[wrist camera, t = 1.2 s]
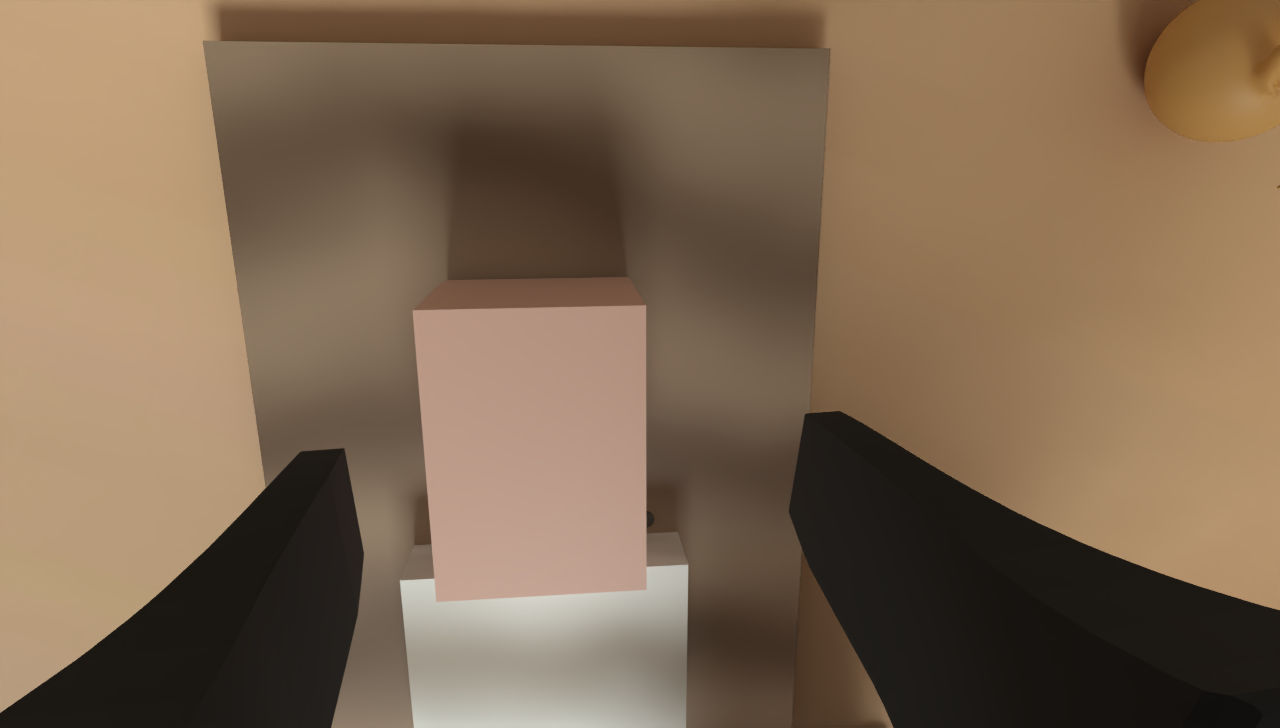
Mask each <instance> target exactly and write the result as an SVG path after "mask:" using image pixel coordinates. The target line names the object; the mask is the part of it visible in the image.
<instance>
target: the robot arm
mask: <svg viewBox="0 0 1280 728" xmlns="http://www.w3.org/2000/svg"><path fill="white" fill-rule="evenodd" d="M789 514H790V517H791V520H792V523H793V525H794V528H795V531H796V534H797V537H798V539H799V542H800V545H801V547H802V550H803V552H804V555H805V557H806V560H807V562H808V565H809V567H810V568H811V570H812V572H813V574H814V576H815V578H816V580H817V582H818V584H819V585H820V587H821V589H822V591H823V593H824V595H825V597H826V598H827V600H828V602H829V604H830V606H831V608H832V610H833V611H834V613H835V615H836V617H837V619H838V620H839V622H840V624H841V626H842V628H843V629H844V631H845V633H846V635H847V637H848V639H849V640H850V642H851V644H852V646H853V648H854V649H855V651H856V653H857V655H858V657H859V658H860V660H861V662H862V664H863V666H864V668H865V669H866V671H867V673H868V675H869V677H870V678H871V680H872V682H873V684H874V686H875V688H876V690H877V692H878V694H879V696H880V698H881V700H882V702H883V704H884V706H885V709H886V711H887V713H888V716H889V718H890V720H891V723H892V725H893V727H894V728H1280V610H1276V609H1272V608H1269V607H1265V606H1261V605H1258V604H1254V603H1251V602H1248V601H1244V600H1241V599H1238V598H1235V597H1231V596H1228V595H1225V594H1222V593H1218V592H1215V591H1212V590H1209V589H1205V588H1202V587H1199V586H1196V585H1193V584H1190V583H1187V582H1184V581H1181V580H1178V579H1175V578H1172V577H1169V576H1166V575H1164V574H1161V573H1158V572H1155V571H1153V570H1150V569H1147V568H1145V567H1142V566H1139V565H1137V564H1134V563H1131V562H1129V561H1126V560H1123V559H1121V558H1118V557H1116V556H1113V555H1110V554H1108V553H1105V552H1103V551H1100V550H1098V549H1095V548H1093V547H1091V546H1088V545H1086V544H1083V543H1081V542H1079V541H1076V540H1074V539H1072V538H1070V537H1068V536H1066V535H1063V534H1061V533H1059V532H1057V531H1055V530H1052V529H1050V528H1048V527H1046V526H1044V525H1041V524H1039V523H1037V522H1035V521H1033V520H1031V519H1029V518H1027V517H1025V516H1023V515H1021V514H1018V513H1016V512H1014V511H1013V510H1011V509H1009V508H1007V507H1005V506H1003V505H1001V504H999V503H997V502H996V501H994V500H992V499H990V498H988V497H986V496H984V495H982V494H981V493H979V492H977V491H975V490H973V489H971V488H970V487H968V486H966V485H964V484H963V483H961V482H959V481H957V480H956V479H954V478H952V477H950V476H949V475H947V474H945V473H944V472H942V471H940V470H938V469H937V468H935V467H933V466H932V465H930V464H928V463H927V462H925V461H923V460H922V459H920V458H919V457H917V456H915V455H914V454H912V453H910V452H909V451H907V450H905V449H904V448H902V447H901V446H899V445H897V444H896V443H894V442H892V441H891V440H889V439H888V438H886V437H884V436H883V435H881V434H879V433H878V432H876V431H874V430H873V429H871V428H869V427H868V426H866V425H864V424H863V423H861V422H859V421H857V420H856V419H854V418H852V417H850V416H848V415H846V414H844V413H842V412H840V411H835V412H822V413H808V414H805V416H804V422H803V428H802V434H801V440H800V446H799V452H798V458H797V464H796V470H795V476H794V482H793V488H792V494H791V500H790V506H789ZM363 561H364V550H363V545H362V539H361V534H360V529H359V523H358V518H357V513H356V507H355V502H354V497H353V491H352V486H351V480H350V475H349V470H348V464H347V459H346V454H345V448H339V449H326V450H312V451H301V452H300V453H299V454H298V455H297V456H296V457H295V458H294V459H293V460H292V461H291V462H290V463H289V464H288V465H287V466H286V467H285V468H284V469H283V470H282V471H281V472H280V473H279V474H278V475H277V477H276V478H275V479H274V480H273V481H272V482H271V483H270V484H269V485H268V486H267V487H266V488H265V489H264V491H263V492H262V493H261V494H260V495H259V496H258V497H257V498H256V499H255V500H254V501H253V502H252V503H251V504H250V506H249V507H248V508H247V509H246V510H245V511H244V512H243V513H242V514H241V515H240V516H239V517H238V518H237V519H236V520H235V521H234V522H233V523H232V524H231V525H230V526H229V527H228V528H227V529H226V530H225V531H224V532H223V533H222V534H221V535H220V536H219V537H218V538H217V539H216V541H215V542H214V543H213V544H212V545H211V546H210V547H209V548H208V549H207V550H205V551H204V552H203V553H202V554H201V555H200V556H199V557H198V558H197V559H196V560H195V561H194V562H193V563H192V564H190V565H189V566H188V567H187V568H186V569H185V570H184V571H183V572H182V573H181V574H180V575H179V576H178V577H176V578H175V579H174V580H173V581H172V582H171V583H170V584H169V585H168V586H167V587H166V588H165V589H164V590H162V591H161V592H160V593H159V594H158V595H157V596H156V597H154V598H153V599H152V600H151V601H150V602H149V603H148V604H146V605H145V606H144V607H143V608H142V609H140V610H139V611H138V612H137V613H136V614H134V615H133V616H132V617H131V618H130V619H128V620H127V621H126V622H125V623H123V624H122V625H121V626H119V627H118V628H117V629H116V630H114V631H113V632H112V633H111V634H109V635H108V636H107V637H105V638H104V639H103V640H102V641H100V642H99V643H98V644H97V645H95V646H94V647H93V648H91V649H90V650H89V651H88V652H86V653H85V654H84V655H82V656H81V657H80V658H78V659H77V660H76V661H74V662H73V663H71V664H70V665H68V666H67V667H66V668H64V669H63V670H61V671H60V672H58V673H57V674H56V675H54V676H53V677H51V678H50V679H48V680H47V681H46V682H44V683H43V684H41V685H40V686H38V687H37V688H35V689H34V690H33V691H31V692H30V693H28V694H27V695H25V696H24V697H23V698H21V699H20V700H18V701H17V702H15V703H14V704H13V705H11V706H10V707H8V708H7V709H5V710H4V711H2V712H1V713H0V728H331V726H332V722H333V718H334V714H335V709H336V705H337V701H338V697H339V693H340V689H341V685H342V680H343V676H344V672H345V668H346V664H347V660H348V655H349V651H350V647H351V643H352V638H353V634H354V630H355V625H356V621H357V616H358V609H359V600H360V591H361V582H362V571H363Z"/></svg>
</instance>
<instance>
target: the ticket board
mask: <svg viewBox="0 0 1280 728" xmlns="http://www.w3.org/2000/svg"><path fill="white" fill-rule="evenodd" d="M203 46H204V53H205V60H206V67H207V74H208V81H209V88H210V95H211V103H212V110H213V117H214V124H215V131H216V138H217V145H218V152H219V159H220V166H221V173H222V181H223V188H224V195H225V202H226V209H227V216H228V223H229V230H230V237H231V244H232V251H233V258H234V266H235V273H236V280H237V287H238V294H239V301H240V308H241V315H242V322H243V329H244V336H245V344H246V351H247V358H248V365H249V372H250V379H251V386H252V393H253V400H254V407H255V414H256V421H257V429H258V436H259V443H260V450H261V457H262V464H263V471H264V478H265V485H266V487H267V486H268V485H269V484H270V483H271V482H272V481H273V480H274V479H275V478H276V477H277V475H278V474H279V473H280V472H281V471H282V470H283V469H284V468H285V467H286V466H287V465H288V464H289V463H290V462H291V461H292V460H293V459H294V458H295V457H296V456H297V455H298V454H299V453H300V452H301V451H312V450H326V449H339V448H345V454H346V459H347V464H348V470H349V475H350V480H351V486H352V491H353V497H354V502H355V507H356V513H357V518H358V523H359V529H360V534H361V539H362V545H363V550H364V561H363V571H362V582H361V591H360V600H359V609H358V616H357V621H356V625H355V630H354V634H353V638H352V643H351V647H350V651H349V655H348V660H347V664H346V668H345V672H344V676H343V680H342V685H341V689H340V693H339V697H338V701H337V705H336V709H335V714H334V718H333V722H332V726H331V728H792V716H793V698H794V681H795V663H796V645H797V628H798V610H799V593H800V575H801V557H802V547H801V545H800V542H799V539H798V537H797V534H796V531H795V528H794V525H793V523H792V520H791V517H790V514H789V506H790V500H791V494H792V488H793V482H794V476H795V470H796V464H797V458H798V452H799V446H800V440H801V434H802V428H803V422H804V416H805V414H808V413H810V399H811V381H812V364H813V346H814V329H815V311H816V293H817V276H818V258H819V241H820V223H821V205H822V188H823V170H824V153H825V135H826V117H827V100H828V82H829V65H830V49H827V48H745V47H664V46H583V45H501V44H420V43H339V42H257V41H203ZM595 277H629V278H630V280H631V282H632V283H633V285H634V287H635V288H636V290H637V291H638V293H639V295H640V296H641V298H642V299H643V301H644V303H645V304H646V570H647V590H635V591H617V592H600V593H583V594H566V595H549V596H532V597H514V598H497V599H480V600H463V601H446V602H436V591H435V579H434V567H433V555H432V543H431V530H430V518H429V506H428V494H427V482H426V469H425V457H424V445H423V433H422V421H421V408H420V396H419V384H418V372H417V360H416V347H415V335H414V323H413V311H412V310H413V309H414V308H415V307H417V306H418V305H419V304H420V303H421V302H422V301H423V300H424V299H425V298H426V297H427V296H428V295H429V294H430V293H431V292H433V291H434V290H435V289H436V288H437V287H438V286H439V285H440V284H441V283H442V282H443V281H444V280H481V279H538V278H595Z"/></svg>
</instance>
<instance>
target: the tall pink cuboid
mask: <svg viewBox="0 0 1280 728" xmlns="http://www.w3.org/2000/svg"><path fill="white" fill-rule="evenodd" d="M412 311H413V323H414V335H415V347H416V360H417V372H418V384H419V396H420V408H421V421H422V433H423V445H424V457H425V469H426V482H427V494H428V506H429V518H430V530H431V543H432V555H433V567H434V579H435V591H436V602H446V601H463V600H480V599H497V598H514V597H532V596H549V595H566V594H583V593H600V592H617V591H635V590H647V570H646V304H645V303H644V301H643V299H642V298H641V296H640V295H639V293H638V291H637V290H636V288H635V287H634V285H633V283H632V282H631V280H630V278H629V277H595V278H538V279H481V280H444V281H443V282H442V283H441V284H440V285H439V286H438V287H437V288H436V289H435V290H434V291H433V292H431V293H430V294H429V295H428V296H427V297H426V298H425V299H424V300H423V301H422V302H421V303H420V304H419V305H418V306H417V307H415V308H414V309H413V310H412Z"/></svg>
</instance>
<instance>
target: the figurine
mask: <svg viewBox="0 0 1280 728" xmlns="http://www.w3.org/2000/svg"><path fill="white" fill-rule="evenodd" d="M1144 88H1145V94H1146V98H1147V101H1148V104H1149V106H1150V108H1151V110H1152V111H1153V113H1154V114H1155V116H1156V117H1157V118H1158V119H1159V121H1160V122H1161V123H1163V124H1164V125H1165V126H1166V127H1167V128H1169V129H1170V130H1172V131H1174V132H1175V133H1177V134H1179V135H1182V136H1184V137H1187V138H1190V139H1194V140H1198V141H1205V142H1228V141H1236V140H1241V139H1245V138H1249V137H1252V136H1255V135H1258V134H1260V133H1263V132H1265V131H1267V130H1270V129H1272V128H1274V127H1275V126H1277V125H1279V124H1280V0H1199V1H1197V2H1195V3H1194V4H1192V5H1191V6H1189V7H1188V8H1186V9H1185V10H1184V11H1182V12H1181V13H1180V14H1179V15H1178V16H1177V17H1176V18H1174V19H1173V20H1172V21H1171V22H1170V24H1169V25H1168V26H1167V27H1166V28H1165V29H1164V31H1163V32H1162V33H1161V35H1160V36H1159V37H1158V39H1157V41H1156V42H1155V44H1154V46H1153V48H1152V50H1151V52H1150V54H1149V57H1148V60H1147V64H1146V68H1145V74H1144ZM1277 188H1280V185H1279V186H1278V187H1277Z"/></svg>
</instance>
